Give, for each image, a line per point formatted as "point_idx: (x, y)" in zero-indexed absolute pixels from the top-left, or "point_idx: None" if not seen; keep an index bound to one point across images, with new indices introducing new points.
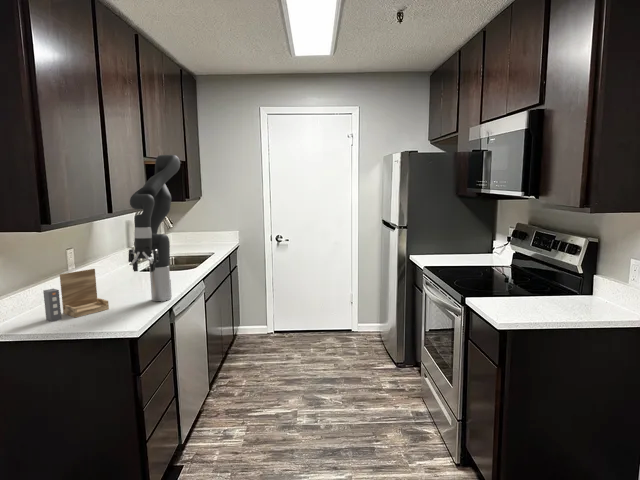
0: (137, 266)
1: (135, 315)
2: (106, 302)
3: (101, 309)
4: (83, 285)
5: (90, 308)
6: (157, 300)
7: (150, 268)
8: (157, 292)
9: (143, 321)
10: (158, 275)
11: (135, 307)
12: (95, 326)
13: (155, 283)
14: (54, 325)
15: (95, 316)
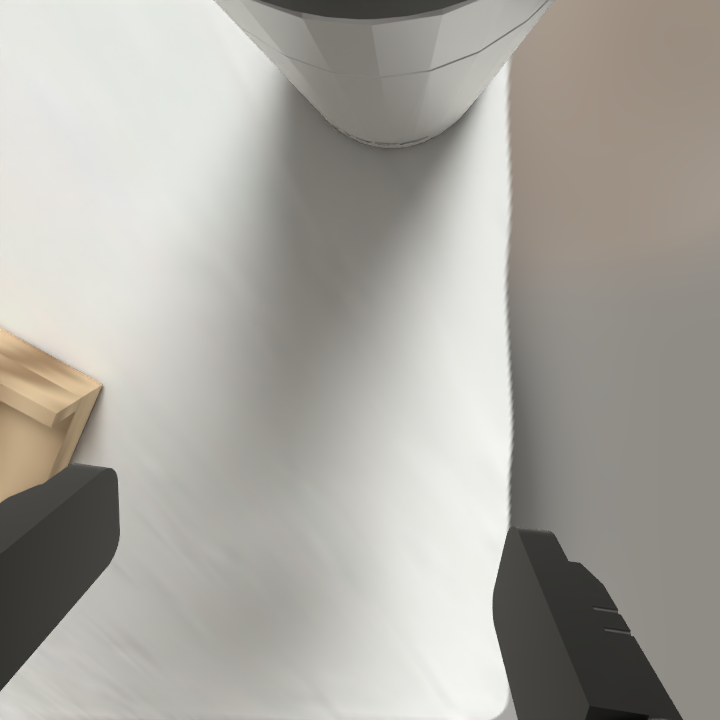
0: (32, 537)
1: (383, 510)
2: (59, 420)
3: (77, 431)
4: None
5: (23, 482)
6: (393, 146)
7: (514, 683)
8: (399, 137)
9: (492, 612)
10: (445, 78)
11: (276, 329)
12: (260, 665)
13: (374, 117)
14: None
15: (131, 521)
